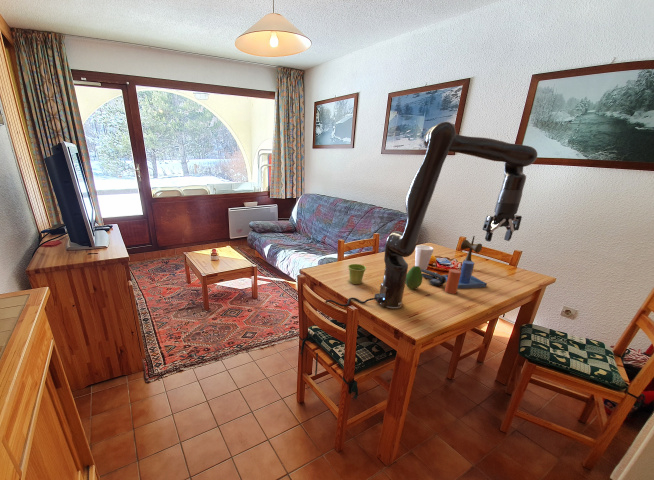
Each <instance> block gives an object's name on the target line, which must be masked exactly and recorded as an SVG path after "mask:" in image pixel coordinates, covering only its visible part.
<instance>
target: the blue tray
mask: <svg viewBox="0 0 654 480" xmlns="http://www.w3.org/2000/svg"><path fill="white" fill-rule="evenodd" d="M442 276H445V278H446V281H445V282H447V278H448V274H442ZM487 286H488V283H487V282H485V281H483V280H481V279H479V278H477V277H476V276H474V275H473V274H472V275H471V278H470V282H469V283H468V284H464V283H460V282H459V284H458V288H457V289H473V288H476V289H477V288H486V287H487Z"/></svg>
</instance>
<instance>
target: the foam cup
mask: <svg viewBox="0 0 654 480" xmlns="http://www.w3.org/2000/svg"><path fill="white" fill-rule="evenodd" d="M414 252H415V258H414V266H419V267H420V269H421V270H422V269H424V270H428V267H429V264H430V261H431V259H432V255H433V252H434V247H433V246H430V245H424V244H420V245H418V244H417V245H416V248H415V250H414Z"/></svg>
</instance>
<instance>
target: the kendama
mask: <svg viewBox="0 0 654 480" xmlns="http://www.w3.org/2000/svg"><path fill="white" fill-rule="evenodd" d="M474 242H475V235H473V236H472V239H471V242H470V241H469V240H468V239H464V240H463V241H462V242H461V244H460V249H461V250H463V251H465V250H467V249H469V250H468V252H467V255H466V256H465V259H463V261H471V262H473V260H472V253H473V252H474V253H476V254H478V253H480V252H481V251H482V249H483V244H482V243H475V244H474ZM463 261H462V262H463ZM460 267H461V268H462V265H461V266H460Z"/></svg>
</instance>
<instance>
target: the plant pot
mask: <svg viewBox="0 0 654 480" xmlns="http://www.w3.org/2000/svg"><path fill="white" fill-rule="evenodd" d="M347 268H348V274H349V276H348V277H349V283H350V284H353V285H360V284H362V282H363V277H364V274H365V272H366V270H367V267H366V266H365V265H364V264H359V263H351V264H349V265H347Z"/></svg>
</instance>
